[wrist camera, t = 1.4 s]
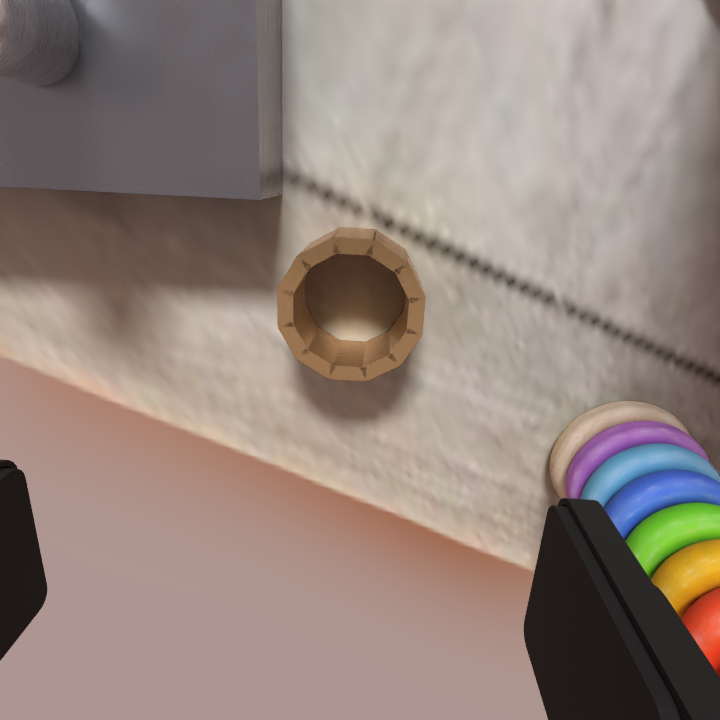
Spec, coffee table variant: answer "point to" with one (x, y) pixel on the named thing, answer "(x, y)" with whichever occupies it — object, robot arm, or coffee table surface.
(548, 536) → the robot arm
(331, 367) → the bronze ring
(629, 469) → the stacking toy
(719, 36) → the coffee table surface
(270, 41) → the grey peg board
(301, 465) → the coffee table surface
